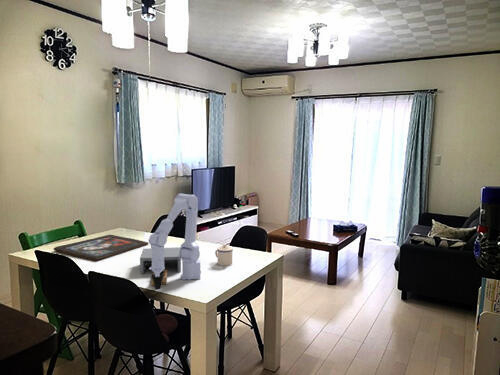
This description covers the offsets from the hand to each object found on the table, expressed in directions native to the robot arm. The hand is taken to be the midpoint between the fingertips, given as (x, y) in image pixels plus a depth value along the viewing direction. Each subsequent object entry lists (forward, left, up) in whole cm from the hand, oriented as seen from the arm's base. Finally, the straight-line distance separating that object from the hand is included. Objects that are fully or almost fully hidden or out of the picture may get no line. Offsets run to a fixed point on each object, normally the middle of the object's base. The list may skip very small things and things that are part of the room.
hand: (158, 286), depth 173 cm
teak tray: (0, -13, -2) cm, 13 cm away
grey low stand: (0, -32, -2) cm, 32 cm away
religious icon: (+40, -77, -3) cm, 87 cm away
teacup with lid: (-35, -35, -2) cm, 50 cm away
